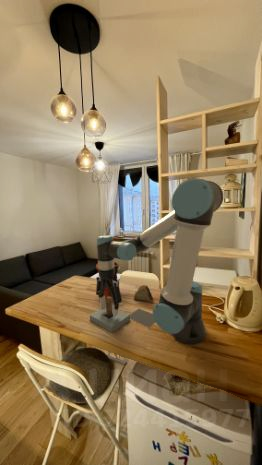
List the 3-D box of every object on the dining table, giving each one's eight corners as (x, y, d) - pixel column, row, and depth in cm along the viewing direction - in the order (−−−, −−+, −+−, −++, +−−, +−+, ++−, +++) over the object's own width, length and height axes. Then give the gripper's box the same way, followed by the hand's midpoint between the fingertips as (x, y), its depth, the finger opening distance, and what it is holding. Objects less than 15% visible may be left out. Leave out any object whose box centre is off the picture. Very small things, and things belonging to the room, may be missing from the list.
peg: (114, 320, 97) (112, 297, 96) (109, 323, 95) (108, 300, 93) (110, 318, 99) (108, 295, 98) (105, 320, 97) (104, 298, 95)
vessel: (94, 291, 130) (93, 262, 127) (114, 287, 136) (114, 259, 133) (100, 301, 117) (99, 269, 114) (122, 296, 123) (122, 265, 120)
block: (129, 320, 97) (129, 315, 96) (112, 333, 88) (111, 327, 87) (107, 310, 107) (107, 305, 106) (90, 320, 98) (89, 315, 98)
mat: (160, 318, 98) (160, 317, 98) (149, 328, 90) (149, 327, 90) (138, 309, 107) (138, 308, 107) (126, 317, 99) (126, 316, 99)
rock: (129, 298, 115) (143, 300, 109) (132, 283, 118) (146, 285, 113) (138, 302, 122) (152, 304, 116) (141, 288, 126) (155, 290, 120)
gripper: (128, 270, 89) (130, 315, 92) (98, 262, 103) (100, 302, 106) (116, 274, 83) (119, 323, 87) (86, 266, 97) (89, 308, 101)
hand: (109, 311), depth 97 cm, fingers open, 8 cm apart
